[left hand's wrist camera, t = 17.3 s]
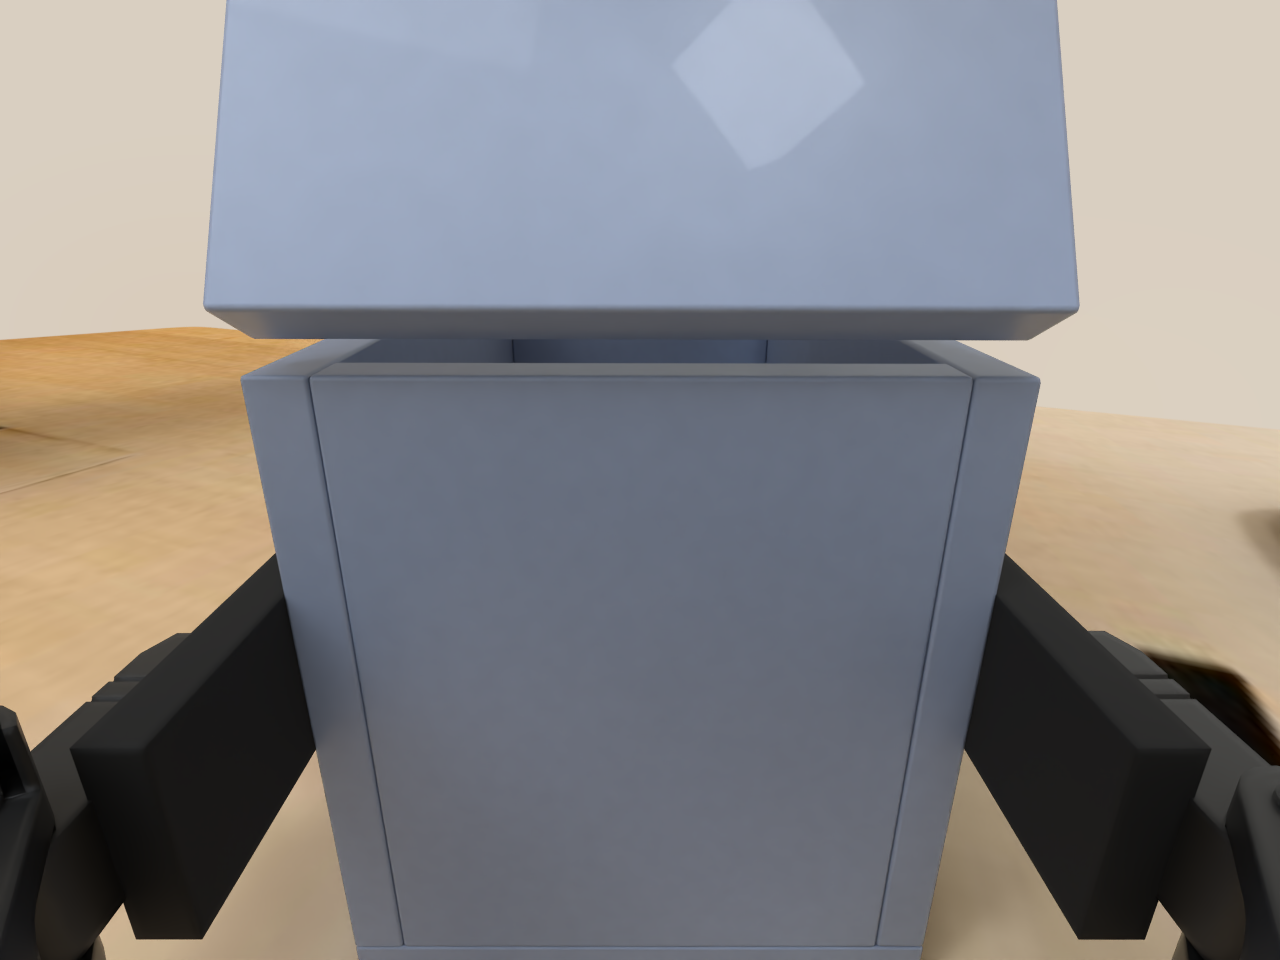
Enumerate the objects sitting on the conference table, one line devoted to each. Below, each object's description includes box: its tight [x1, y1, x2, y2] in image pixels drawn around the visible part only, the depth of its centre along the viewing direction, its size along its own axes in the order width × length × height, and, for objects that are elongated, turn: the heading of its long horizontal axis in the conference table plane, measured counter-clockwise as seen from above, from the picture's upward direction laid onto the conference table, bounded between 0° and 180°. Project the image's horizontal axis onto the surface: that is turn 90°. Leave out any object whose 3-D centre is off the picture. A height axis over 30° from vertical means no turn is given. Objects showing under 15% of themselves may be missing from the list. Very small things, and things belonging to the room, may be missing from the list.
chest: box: [241, 339, 1040, 960], centre depth 18 cm, size 15×10×11 cm, turn 0°
